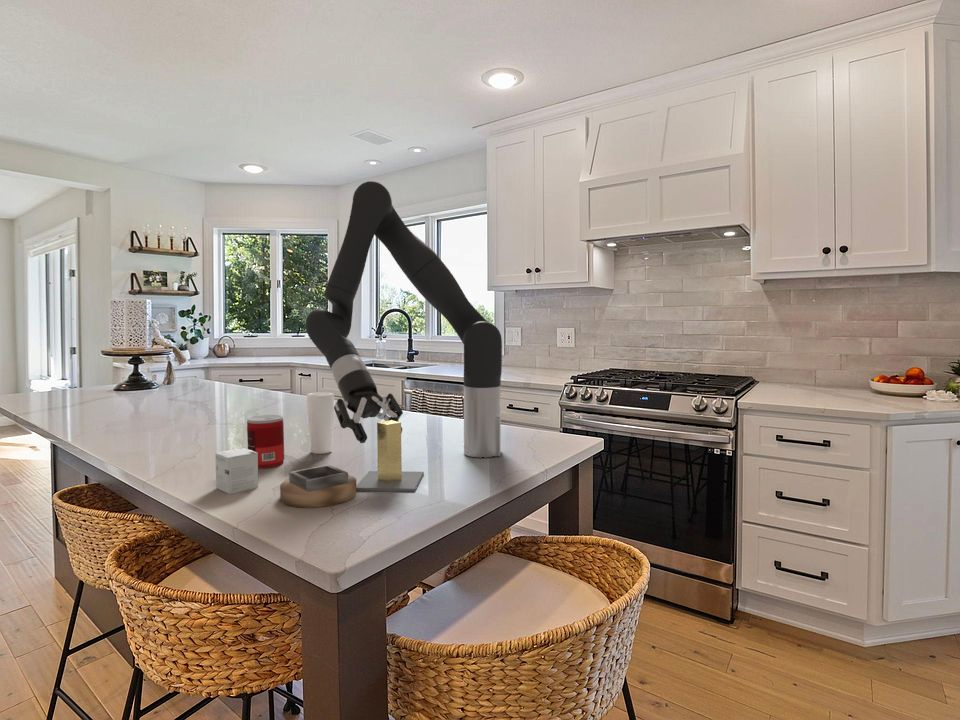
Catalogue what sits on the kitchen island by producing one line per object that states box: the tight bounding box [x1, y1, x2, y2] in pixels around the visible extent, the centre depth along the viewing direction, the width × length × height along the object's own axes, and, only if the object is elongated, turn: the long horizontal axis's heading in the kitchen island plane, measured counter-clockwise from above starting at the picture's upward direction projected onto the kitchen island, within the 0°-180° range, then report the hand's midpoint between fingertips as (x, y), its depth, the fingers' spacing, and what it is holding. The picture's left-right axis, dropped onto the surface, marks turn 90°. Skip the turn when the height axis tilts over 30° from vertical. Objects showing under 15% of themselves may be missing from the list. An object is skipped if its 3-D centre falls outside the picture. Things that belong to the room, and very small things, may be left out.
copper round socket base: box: [279, 464, 358, 509], centre depth 105 cm, size 14×14×4 cm
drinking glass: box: [306, 391, 335, 455], centre depth 139 cm, size 7×7×15 cm
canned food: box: [246, 414, 285, 469], centre depth 127 cm, size 8×8×11 cm
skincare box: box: [215, 447, 259, 495], centre depth 109 cm, size 6×6×7 cm
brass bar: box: [376, 420, 403, 483], centre depth 113 cm, size 4×4×12 cm
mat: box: [356, 470, 425, 492], centre depth 113 cm, size 12×12×1 cm
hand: (382, 437), depth 115 cm, fingers open, 8 cm apart
